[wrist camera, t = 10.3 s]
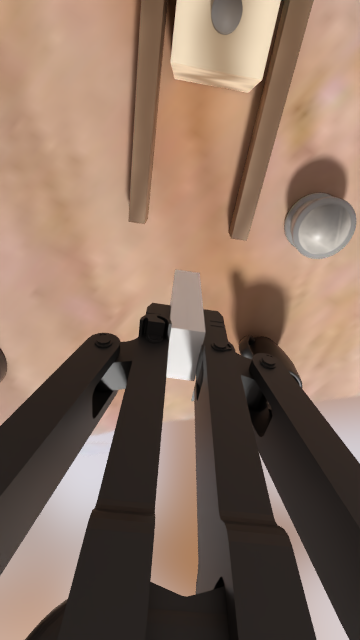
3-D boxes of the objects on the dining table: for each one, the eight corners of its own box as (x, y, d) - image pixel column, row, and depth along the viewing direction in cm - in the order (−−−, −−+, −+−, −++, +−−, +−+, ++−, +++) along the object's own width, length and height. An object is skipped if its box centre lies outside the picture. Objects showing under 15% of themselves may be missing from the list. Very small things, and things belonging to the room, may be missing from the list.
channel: (132, 216, 38) (125, 225, 34) (150, -61, 26) (142, -103, 21) (243, 234, 39) (249, 245, 34) (312, -26, 26) (336, -60, 22)
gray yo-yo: (276, 244, 39) (284, 253, 36) (295, 188, 36) (306, 192, 32) (327, 252, 40) (339, 263, 36) (350, 197, 36) (367, 203, 33)
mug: (260, 303, 44) (276, 339, 36) (291, 355, 49) (311, 397, 41) (214, 328, 47) (219, 366, 38) (248, 375, 52) (259, 417, 43)
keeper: (174, 78, 30) (170, 60, 24) (185, -18, 27) (183, -70, 20) (248, 92, 31) (263, 78, 24) (268, 0, 27) (292, -46, 21)
